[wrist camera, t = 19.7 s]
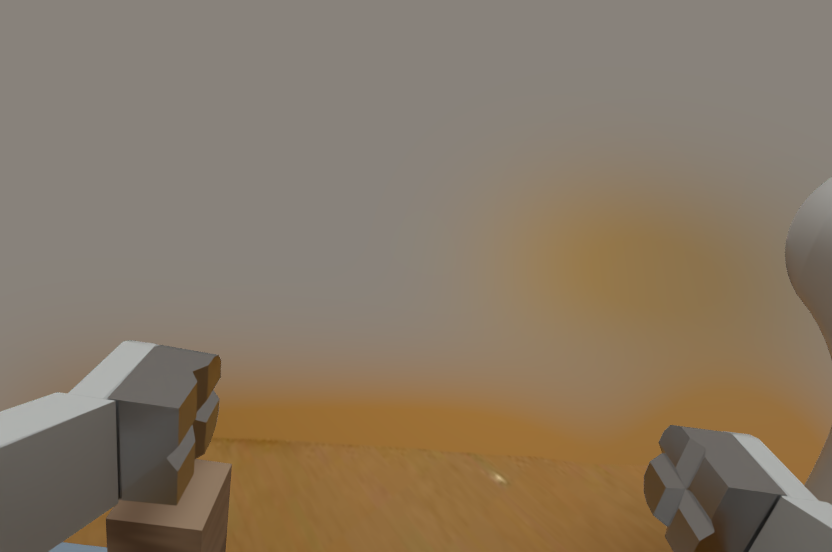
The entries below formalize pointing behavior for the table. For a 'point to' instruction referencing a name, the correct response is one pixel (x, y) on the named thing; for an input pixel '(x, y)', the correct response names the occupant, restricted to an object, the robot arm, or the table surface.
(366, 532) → the table surface
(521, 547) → the table surface
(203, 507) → the pillar
